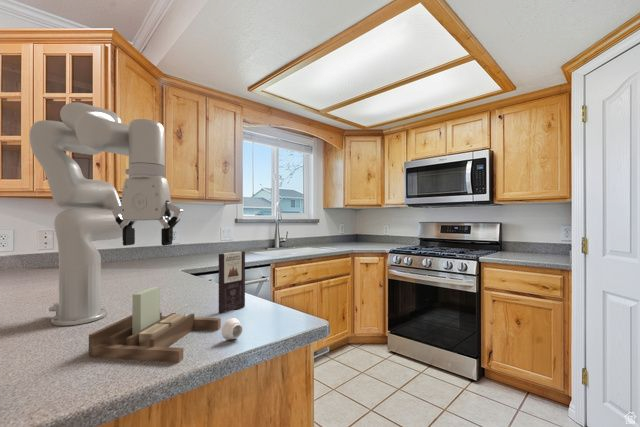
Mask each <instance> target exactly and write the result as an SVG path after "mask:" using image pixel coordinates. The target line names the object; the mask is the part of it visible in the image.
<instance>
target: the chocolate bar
mask: <svg viewBox="0 0 640 427" xmlns="http://www.w3.org/2000/svg"><path fill="white" fill-rule="evenodd" d="M245 307H246V251H243V250H242V251H235V252H225V253H219V254H218V314H223V313H228V312H231V311H234V310H238V309H241V308H245Z"/></svg>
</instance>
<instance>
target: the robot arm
mask: <svg viewBox="0 0 640 427" xmlns="http://www.w3.org/2000/svg"><path fill="white" fill-rule="evenodd" d="M59 115H60V119H61V121H58V120H57V121H56V120H45V119H43V120H38V121H35V122H34V123H33V124H32V125H31V127H30V130H29V144H30V149H31V150H32V153H33V156H34V157H35V158H36V160H37V162H38V163H39V164H40V166H41V168H42V169H43V171H44V173H45V176H46V181H47V184H48V186H49V190H50V194H51V197H52V200H53V201H54V205H56V206H57V207H58V208H60V209H63V210H62V211H60V212H58V213H57V214H56V216H55V218H54V221H53V224H54V225H53V226H54V231H55V236H56V237H55V238H56V242H57V246H58V248H57V249H58V302H54V303H53V305H52V306H49V307H48V311H49V312H55V316H53V317H51V320H50V321H51V324H52V325H53V326H58V327H59V326H60V327H61V326H63V327H65V326H75V325H82V324H88V323H91V322H95V321H98V320H100V319H103V318H104V317H106V316H107V314H108V310H107V309H106V308H104V307H102V301H101V300H102V294H101V293H102V292H101V290H102V257H101V254H100V253H101V252H100V251H99V250H98V249H97V247H95V246H94V244H93V243H92V242H95V241H105V240H106V241H108V240H117V239H120V238H122V245H123V246H134V245H135V242H136V233H135V232H136V230H135V227H133V226H135V224H136V223H137V222H138V221H159V223H160V224H161V225H162V226H163V227H162V228H161V232H160V233H161V240H160V241H161V245H162V246H163V247H164V246H165V247H166V246H170V245H172V244H173V240H174V228H175V227H176V225H177V224H178V223H179V222H180V220H181V217H182V215H183V212H184V209H183V208H180V207H179V206H177V205H175V204H173V203H172V199H171V190H170V186H169V181H168V179H167V178H166V165H165V164H166V163H165V160H166V156H165V154H166V152H165V150H166V149H165V148H166V147H165V144H166V142H165V141H166V140H165V139H166V136H165V135H166V134H165V127H164V125H163V124H162V123H161V122H158V121H156V120H153V119H146V118H136V119H133V120H131V121H130V122H129V124H127V123H124V122H122V119H121V117H120V116H119V115H118V114H117V113H116V112H115V111H112V110H109V109H106V108H102V107H97V106H95V105H92V104H87V103H83V102H78V101H75V102H74V101H72V102H68V103H66V104H64V105H63V106H62V108H61V109H60V112H59ZM66 152H68V153H76V154H82V155H83V154H84V155H89V156H91V155H92V156H93V155H96V156H97V155H99V154H101V153H102V152H103V153H111V154H117V155H122V156H127V157H128V168H127V169H125V170H124V172H125V175H128V178H125V180H124V183H123V187H122V191H121V192H122V194H121V200H120V196H119V193H118V191H117V189H116V188H115V186H114V185H113V184H111V183H110V182H108V181H106V180H98V179H88V178H86V177H85V176H84V175H83V173H82V169H81V167H80V165H79V164H78V162H76V160H74V158H72V157H71V156H70V155H68V154H67V153H66ZM172 212H173V216H172ZM171 216H172V217H171Z"/></svg>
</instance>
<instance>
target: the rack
mask: <svg viewBox="0 0 640 427" xmlns="http://www.w3.org/2000/svg"><path fill="white" fill-rule="evenodd" d="M162 313H163V312H160V320H159V321H157V322H155V323H153V324H151V325H149V326H148V327H146V328H144V329H142V330H140V331H139V332H137V333H135V334H133V335H132V314H131V315H129V316H127V317H124V318H122V319H120V320H118V321H116V322H114V323H111V324H109V325H107V326H105V327H103V328H100V329H98V330H96V331H94V332H92V333H89V334H88V358H96V359H98V358H99V359H115V360H128V361H129V360H130V361H131V360H132V361H146V362H147V361H149V362H163V363H164V362H166V363H167V362H168V363H181V362H182V361H183V360H184V347H171V346H172V345H174V344H175V343H177V342H178V341H180V340H181V339H183V338H184V337H185V336H187V335H188V334H189V333H191V332H192V331H194V330H209V331H210V330H211V331H212V330H213V331H218V330H220V329H221V328H222V327H221V322H222V319H221V318H220V317H219V318H218V317H216V318H215V317H196V316H195V313H189V314H188V315H187V316H186V315H185V318H183V319H181V320H180V321H178V322H177V323H175V324H173V325H172V326H170V327H168V328H167V329H165V330H164V331H162V332H160V333H159V334H157V335H155V336H154V337H152V338H151V339H149V346H139V333H141V332H143V331H145V330H146V329H148V328H150V327H152V326H154V325H155V324H160V322H161V321H162V320H164V319H166V318H168V317H170V316H171V315H173V314H177V313H176V312H171V313H170V314H167V315H166V316H165V315H164V316H163V315H162Z"/></svg>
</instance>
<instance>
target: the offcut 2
mask: <svg viewBox="0 0 640 427" xmlns="http://www.w3.org/2000/svg"><path fill="white" fill-rule="evenodd" d="M185 317H186V314H185V313H176V314H173V315H171V316H170V317H168V318H166V319H164V320H162V321H161V322H160V324H169V327H170V326H172V325H173V324H175V323H177V322H178V321H180V320H181V319H183V318H185Z"/></svg>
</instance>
